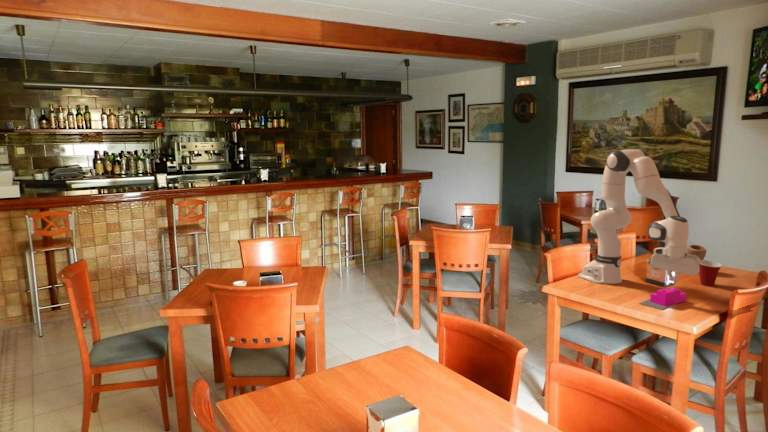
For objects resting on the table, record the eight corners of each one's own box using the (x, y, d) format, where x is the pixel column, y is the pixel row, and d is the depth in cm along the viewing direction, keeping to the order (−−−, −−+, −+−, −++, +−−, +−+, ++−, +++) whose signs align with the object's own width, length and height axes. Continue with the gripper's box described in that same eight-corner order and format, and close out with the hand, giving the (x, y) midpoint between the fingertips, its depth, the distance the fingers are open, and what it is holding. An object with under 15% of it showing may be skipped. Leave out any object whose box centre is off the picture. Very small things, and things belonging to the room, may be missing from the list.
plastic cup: (715, 289, 255) (718, 266, 253) (692, 284, 263) (694, 262, 261) (723, 285, 261) (725, 262, 259) (700, 280, 270) (702, 258, 268)
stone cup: (698, 275, 279) (700, 249, 277) (676, 270, 289) (678, 245, 287) (711, 270, 288) (713, 245, 285) (689, 266, 297) (691, 241, 295)
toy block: (665, 293, 230) (651, 288, 236) (664, 306, 231) (650, 301, 237) (687, 288, 236) (672, 284, 243) (685, 301, 237) (670, 296, 244)
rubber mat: (639, 303, 235) (639, 303, 235) (663, 293, 249) (663, 292, 249) (662, 310, 227) (662, 309, 227) (685, 298, 241) (685, 298, 241)
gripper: (703, 254, 225) (700, 284, 227) (656, 246, 241) (654, 274, 243) (697, 257, 221) (694, 287, 223) (650, 248, 237) (647, 277, 239)
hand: (673, 280), depth 233 cm, fingers closed
